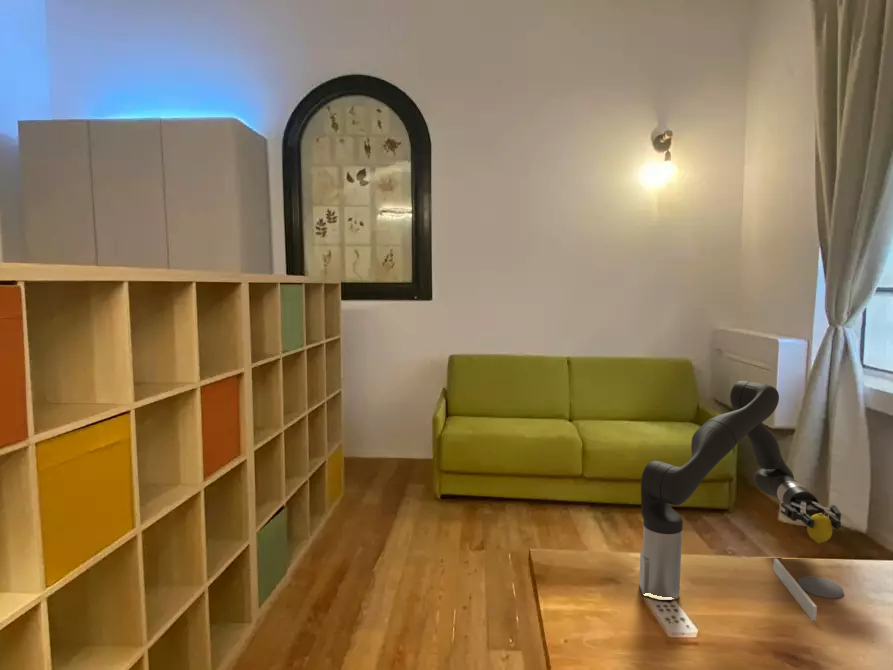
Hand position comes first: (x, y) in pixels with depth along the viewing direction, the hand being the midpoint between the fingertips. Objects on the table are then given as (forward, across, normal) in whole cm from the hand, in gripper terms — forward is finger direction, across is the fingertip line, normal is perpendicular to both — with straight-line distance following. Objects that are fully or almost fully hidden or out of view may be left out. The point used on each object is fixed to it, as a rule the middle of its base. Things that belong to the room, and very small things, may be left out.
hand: (825, 524), depth 155 cm
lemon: (-3, 0, +6) cm, 7 cm away
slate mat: (-2, +1, +18) cm, 18 cm away
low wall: (+2, -7, +18) cm, 19 cm away
